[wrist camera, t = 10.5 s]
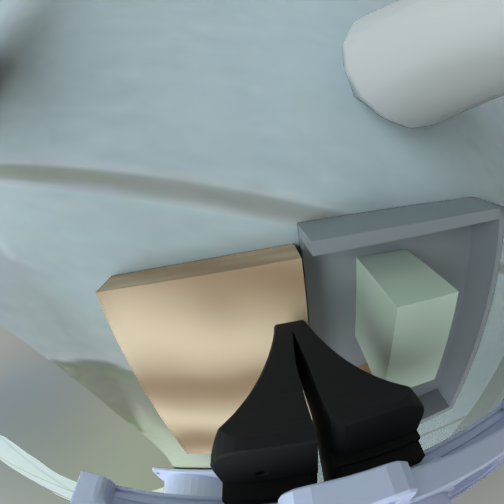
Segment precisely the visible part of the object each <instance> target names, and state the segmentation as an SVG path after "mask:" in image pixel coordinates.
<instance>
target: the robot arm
mask: <svg viewBox="0 0 504 504" xmlns="http://www.w3.org/2000/svg"><path fill="white" fill-rule="evenodd" d="M304 395H305V396H304ZM305 398H306V399H305ZM306 400H307V403H308V406H309V409H310V412H309V409H308V406H307V403H306ZM310 413H311V415H310ZM423 414H424V406H423V404H422V402H421V401H420V399H419V398H418V396H417V395H416V394H415V393H414V391H413V390H412V389H411V388H410V387H408V386H405V385H401V384H397V383H393V382H390V381H387V380H384V379H382V378H379V377H377V376H374V375H372V374H370V373H368V372H366V371H364V370H362V369H360V368H358V367H356V366H355V365H353V364H352V363H350V362H348V361H347V360H345V359H344V358H343V357H341V356H340V355H339V354H337V353H336V352H335V351H334V350H332V349H331V348H330V347H329V346H328V345H327V344H326V343H325V342H324V341H323V340H321V339H320V338H319V337H318V336H317V335H316V333H315V332H314V331H313V330H312V329H311V328H310V327H309V325H308V324H307V323H306V321H304V320H298V321H293V322H288V323H282V324H277V325H275V326H274V335H273V341H272V345H271V349H270V352H269V355H268V358H267V361H266V363H265V366H264V368H263V370H262V372H261V375H260V377H259V378H258V380H257V382H256V384H255V386H254V387H253V389H252V390H251V392H250V394H249V395H248V396H247V398H246V399H245V401H244V402H243V403H242V404H241V405H240V407H239V408H238V409H237V410H236V412H235V413H234V414H233V415H232V416H231V417H230V418H229V419H228V420H227V421H226V422H225V423H224V424H223V425H222V426H221V427H220V428H219V429H218V430H217V433H216V436H215V439H214V443H213V447H212V452H211V465H210V466H211V468H212V470H196V469H172V468H158V467H153V468H152V471H153V472H154V473H155V474H156V475H158V476H159V477H160V478H161V479H162V480H163V481H164V482H165V485H164V491H163V493H159V492H152V491H145V490H139V489H132V488H127V487H122V486H118V485H116V484H115V483H114V482H112V481H111V480H110V479H108V478H106V477H104V476H101V475H97V474H94V473H90V472H86V471H81V473H80V476H79V479H78V482H77V484H76V487H75V490H74V493H73V496H72V499H71V502H70V504H451V502H450V500H452V499H453V498H455V497H457V496H458V495H460V494H461V493H463V492H464V491H466V490H467V489H469V488H470V487H472V486H473V485H475V484H476V483H477V482H479V481H480V480H482V479H483V478H484V477H486V476H487V475H488V474H490V473H491V472H492V471H493V470H495V469H496V468H497V467H499V466H500V465H501V464H502V463H504V399H503V401H502V403H501V405H500V406H499V407H497V408H496V409H495V410H493V411H492V412H490V413H489V414H487V415H486V416H484V417H483V418H481V419H480V420H478V421H477V422H475V423H474V424H472V425H470V426H469V427H467V428H466V429H464V430H462V431H460V432H459V433H457V434H455V435H453V436H452V437H450V438H448V439H446V440H444V441H442V442H440V443H438V444H436V445H434V446H432V447H430V448H428V449H426V450H424V451H423V449H422V447H421V445H420V443H419V441H418V440H419V439H420V436H419V434H418V432H417V428H418V426H419V424H420V421H421V419H422V417H423ZM311 416H312V418H311ZM312 420H313V421H312ZM318 450H319V455H320V461H321V466H322V472H323V477H324V482H320V483H317V473H318Z"/></svg>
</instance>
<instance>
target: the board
mask: <svg viewBox="0 0 504 504" xmlns="http://www.w3.org/2000/svg"><path fill="white" fill-rule="evenodd" d="M96 294H97V297H98V299H99V302H100V304H101V306H102V309H103V311H104V313H105V316H106V318H107V320H108V322H109V325H110V327H111V329H112V331H113V333H114V335H115V337H116V339H117V341H118V343H119V345H120V347H121V349H122V351H123V353H124V355H125V357H126V359H127V361H128V363H129V365H130V367H131V368H132V370H133V372H134V374H135V376H136V377H137V379H138V381H139V383H140V384H141V386H142V388H143V389H144V391H145V393H146V394H147V396H148V398H149V399H150V401H151V402H152V404H153V406H154V407H155V409H156V410H157V412H158V413H159V415H160V416H161V418H162V419H163V421H164V422H165V424H166V425H167V427H168V428H169V430H170V431H171V432H172V434H173V435H174V437H175V438H176V439H177V441H178V442H179V443H180V445H181V446H182V448H183V449H184V450H185V451H186V453H187V454H211V452H212V447H213V443H214V439H215V436H216V433H217V430H218V429H219V428H220V427H221V426H222V425H223V424H224V423H225V422H226V421H227V420H228V419H229V418H230V417H231V416H232V415H233V414H234V413H235V412H236V410H237V409H238V408H239V407H240V405H241V404H242V403H243V402H244V401H245V399H246V398H247V396H248V395H249V394H250V392H251V390H252V389H253V387H254V386H255V384H256V382H257V380H258V378H259V377H260V375H261V372H262V370H263V368H264V366H265V363H266V361H267V358H268V355H269V352H270V349H271V345H272V341H273V335H274V326H275V325H277V324H282V323H288V322H293V321H298V320H304V321H306V323H307V324H308V314H307V304H306V294H305V284H304V275H303V266H302V258H301V256H300V254H299V252H298V251H297V249H296V247H295V245H294V244H289V245H284V246H278V247H272V248H267V249H261V250H255V251H250V252H244V253H238V254H233V255H227V256H222V257H216V258H210V259H205V260H199V261H193V262H188V263H182V264H177V265H171V266H165V267H160V268H154V269H148V270H143V271H137V272H132V273H126V274H120V275H115V276H111V277H110V278H109V279H108V280H107V281H106V282H105V283H104V284H103V285H102V286H101V287H100V288H99V289H98V290H97V292H96ZM304 396H305V395H304ZM305 399H306V398H305ZM306 403H307V400H306ZM307 406H308V403H307ZM308 409H309V406H308ZM309 412H310V409H309ZM310 415H311V413H310ZM311 418H312V416H311ZM312 421H313V420H312Z"/></svg>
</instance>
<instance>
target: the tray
mask: <svg viewBox="0 0 504 504" xmlns="http://www.w3.org/2000/svg"><path fill="white" fill-rule="evenodd" d="M297 227H298V234H299V242H300V250H301V258H302V266H303V275H304V284H305V294H306V304H307V314H308V325H309V327H310V328H311V329H312V330H313V331H314V332H315V333H316V335H317V336H318V337H319V338H320V339H321V340H323V341H324V342H325V343H326V344H327V345H328V346H329V347H330V348H331V349H332V350H334V351H335V352H336V353H337V354H339V355H340V356H341V357H343V358H344V359H345V360H347V361H348V362H350V363H352V364H353V365H355V366H356V367H359V366H363V365H366V364H368V363H367V361H366V359H365V356H364V354H363V352H362V350H361V348H360V345H359V343H358V341H357V339H356V337H355V323H356V257H361V256H368V255H374V254H380V253H386V252H392V251H399V250H405V249H407V250H408V251H409V252H411V253H412V254H413V255H414V256H416V257H417V258H418V259H420V260H421V261H422V262H424V263H425V264H426V265H427V266H429V267H430V268H431V269H432V270H434V271H435V272H436V273H437V274H439V275H440V276H441V277H442V278H443V279H445V280H446V281H447V282H448V283H449V284H451V285H452V286H453V287H454V288H455V289H456V290H458V291H459V293H458V298H457V303H456V307H455V312H454V316H453V320H452V324H451V328H450V332H449V336H448V339H447V343H446V346H445V350H444V353H443V356H442V359H441V362H440V365H439V368H438V371H437V374H436V377H435V379H434V380H431V381H428V382H425V383H423V384H420V385H417V386H414V387H411V389H412V390H413V391H414V393H415V394H416V395H417V396H418V398H419V399H420V401H421V402H422V404H423V406H424V414H423V417H422V419H421V421H420V423H423V422H425V421H427V420H429V419H431V418H434V417H436V416H438V415H440V414H442V413H444V412H446V411H448V410H450V409H451V408H453V406H454V404H455V402H456V400H457V398H458V395H459V393H460V391H461V389H462V387H463V385H464V382H465V380H466V378H467V375H468V373H469V371H470V368H471V366H472V363H473V361H474V358H475V355H476V352H477V350H478V347H479V344H480V341H481V338H482V335H483V332H484V329H485V325H486V322H487V318H488V315H489V311H490V307H491V303H492V299H493V295H494V291H495V286H496V281H497V276H498V270H499V265H500V258H501V251H502V243H503V234H504V207H503V206H500V205H497V204H494V203H491V202H488V201H485V200H482V199H479V198H475V197H469V198H461V199H453V200H446V201H438V202H431V203H424V204H417V205H410V206H403V207H396V208H389V209H383V210H376V211H369V212H363V213H357V214H350V215H344V216H338V217H331V218H325V219H319V220H313V221H307V222H301V223H297Z"/></svg>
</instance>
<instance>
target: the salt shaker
mask: <svg viewBox="0 0 504 504" xmlns="http://www.w3.org/2000/svg"><path fill="white" fill-rule="evenodd" d="M342 54H343V64H344V67H345V73H346V75H347V77H348V79H349V82H350V85H351V88H352V91H353V94H354V97H356V98H358V99H359V100H361V101H363V102H364V103H366V104H367V105H368V106H370V107H371V108H372V109H373V110H374V111H375V112H376V113H377V114H378V115H379V116H380V117H382V118H385V119H387V120H390V121H392V122H395V123H397V124H399V125H402V126H404V127H408V128H415V127H422V126H430V125H434V124H436V123H438V122H440V121H443V120H445V119H447V118H450V117H452V116H454V115H457V114H459V113H461V112H464V111H466V110H468V109H471V108H473V107H475V106H478V105H480V104H483V103H485V102H488V101H490V100H493V99H495V98H498V97H500V96H503V95H504V0H397V1H395V2H392V3H390V4H388V5H386V6H384V7H382V8H380V9H378V10H376V11H374V12H372V13H370V14H368V15H366V16H364V17H363V18H361V19H359V20H357V21H355V22H353V24H352V26H351V27H350V30H349V32H348V34H347V36H346V39H345V41H344V43H343V46H342Z"/></svg>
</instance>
